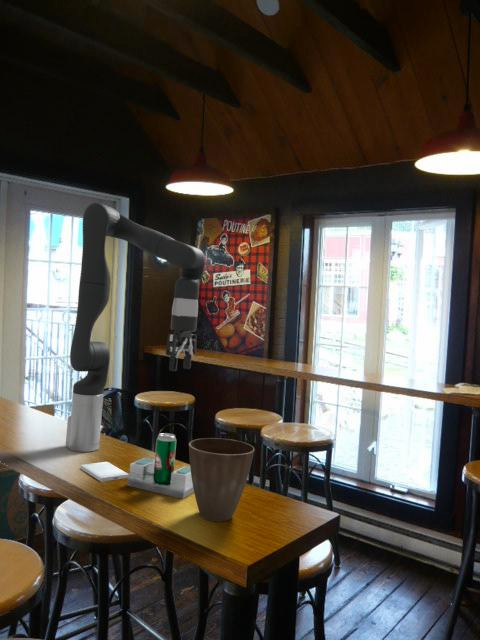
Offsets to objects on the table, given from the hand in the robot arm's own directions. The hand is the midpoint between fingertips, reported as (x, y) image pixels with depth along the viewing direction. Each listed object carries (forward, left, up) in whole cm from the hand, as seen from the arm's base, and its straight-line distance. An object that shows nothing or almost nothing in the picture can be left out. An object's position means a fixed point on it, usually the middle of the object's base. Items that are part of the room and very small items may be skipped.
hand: (179, 369), depth 160 cm
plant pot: (+27, -28, -28) cm, 48 cm away
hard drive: (-10, -18, -29) cm, 36 cm away
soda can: (+8, -19, -27) cm, 34 cm away
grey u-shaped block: (+8, -19, -28) cm, 35 cm away
